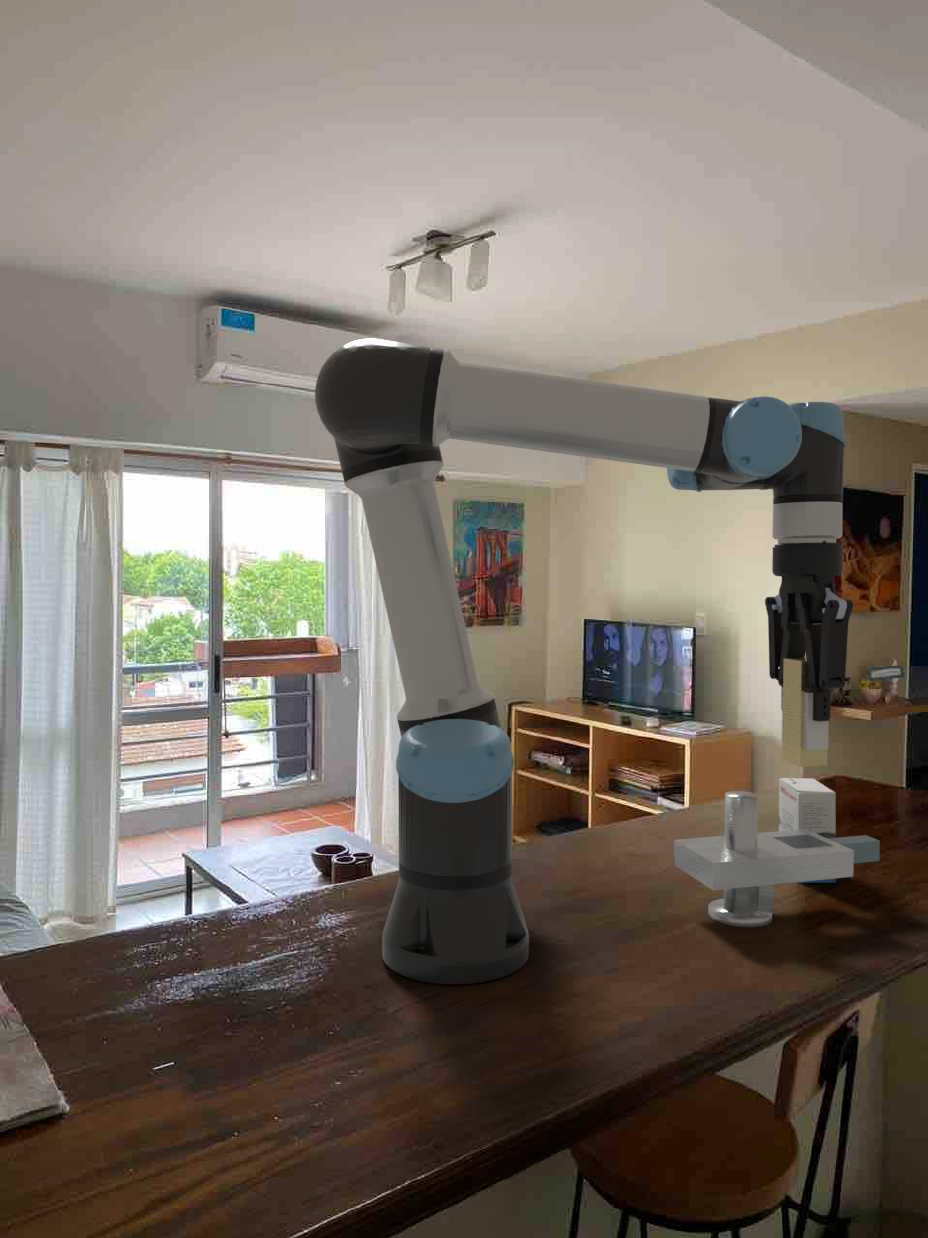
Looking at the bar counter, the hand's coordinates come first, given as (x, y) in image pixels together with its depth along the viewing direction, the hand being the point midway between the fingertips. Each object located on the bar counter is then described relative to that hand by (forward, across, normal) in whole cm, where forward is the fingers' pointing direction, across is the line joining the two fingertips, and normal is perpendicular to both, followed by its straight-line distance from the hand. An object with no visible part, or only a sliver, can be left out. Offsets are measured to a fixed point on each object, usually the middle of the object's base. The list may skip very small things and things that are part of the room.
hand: (804, 745), depth 108 cm
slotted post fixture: (+19, 0, +2) cm, 19 cm away
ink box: (+20, +11, -8) cm, 24 cm away
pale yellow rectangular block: (+2, 0, 0) cm, 2 cm away
